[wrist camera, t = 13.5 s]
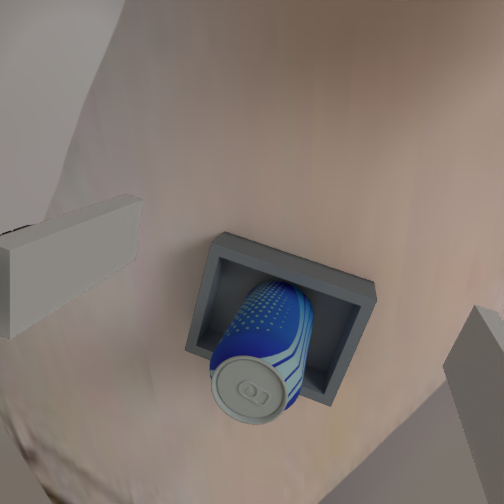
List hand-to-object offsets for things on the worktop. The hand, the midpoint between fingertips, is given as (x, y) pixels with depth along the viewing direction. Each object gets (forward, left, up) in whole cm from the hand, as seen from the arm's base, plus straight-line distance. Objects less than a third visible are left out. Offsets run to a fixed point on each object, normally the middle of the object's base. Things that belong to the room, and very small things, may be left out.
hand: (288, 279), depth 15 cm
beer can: (+16, 0, -29) cm, 33 cm away
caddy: (+16, 0, -29) cm, 33 cm away
